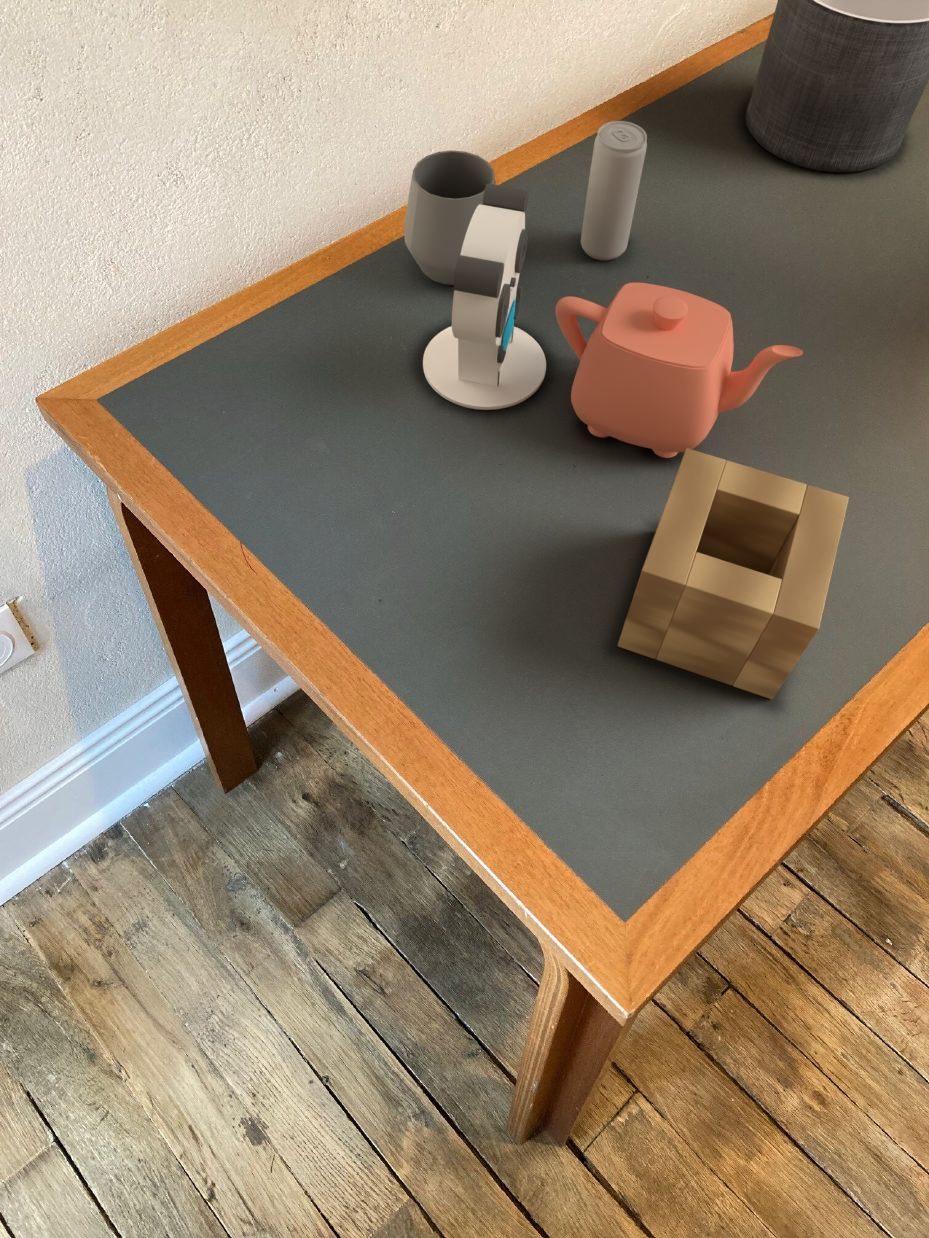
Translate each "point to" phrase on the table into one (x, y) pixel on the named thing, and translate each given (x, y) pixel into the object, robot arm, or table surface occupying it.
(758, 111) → the planter
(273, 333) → the table surface
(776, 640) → the wooden box
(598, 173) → the beverage can
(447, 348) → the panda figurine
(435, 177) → the cup
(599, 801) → the table surface
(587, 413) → the teapot
